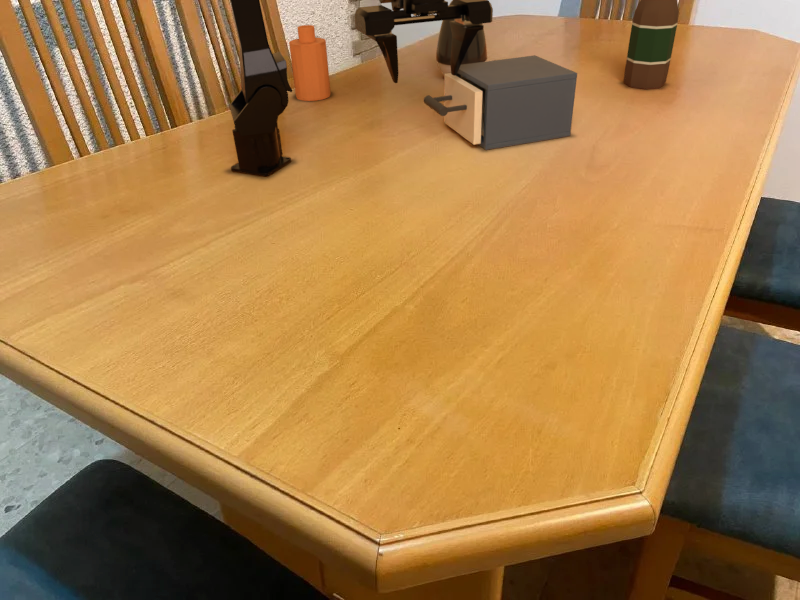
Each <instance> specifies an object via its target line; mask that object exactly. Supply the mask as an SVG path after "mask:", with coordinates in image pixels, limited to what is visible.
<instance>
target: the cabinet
mask: <svg viewBox="0 0 800 600" xmlns="http://www.w3.org/2000/svg"><path fill="white" fill-rule="evenodd" d="M456 76H457V77H459V78H461V76H463V77H465V78H467V79H468V80H470V81H472V82H474V83H475V84H477V85H479V86H481V87H482V88H484V89H486V92H485V118H484V136H482V135H481V144H477V145H478V146H479V147H481V148H482V149H483V150H484V151H488V150H489V151H490V150H494V149H502V148H507V147H513V146H518V145H525V144H530V143H536V142H543V141H549V140H554V139H560V138H561V139H562V138H566V137H571V131H572V123H573V114H574V107H575V98H576V90H577V89H576V88H577V79H578V72H576V71H573V70H571V69H569V68H566V67H564V66H561V65H559V64H557V63H555V62H553V61H550V60H547V59H544V58H542V57H540V56H539V55H538V56H537V55H535V54H534V55H527V56H519V57H511V58H504V59H503V58H502V59H497V60H496V59H495V60H488V61H487V60H486V61H485V62H479V63H471V64H463V65H460V68H459V70H458V72H457V74H456Z"/></svg>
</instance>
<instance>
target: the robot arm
mask: <svg viewBox="0 0 800 600" xmlns="http://www.w3.org/2000/svg"><path fill="white" fill-rule="evenodd" d="M378 1H379V3H380V5H370V6H359V7H358V8H357V9H356V11H355V13H354V26H355V27H354V28H355V30H357V31H359V32H361V33H362V34H363V35H364V36H367V37H368V38H370V39H371V40H373V41H374V42H376V43H377V46H378V47H379V50H380V52H381V53H382V56H383V58H384V61H385V64H386V66H387V69H388V72H389V75H390V78H391V80H392V82H393V83H394V84H398V83H399V56H398V55H399V54H398V36H397V35H396V34H394V33H393V29H394V28H395V26H401V25H411V24H421V23H431V22H440V21H441V22H442V21H443V20H451V19H455V21H450V27H451V31H452V47H451V74H452V75H453V76H455V75H456V74H457V72H458V70H459V68H460V65H461V63H462V61H463V59H464V56H465V54H466V52H467V50H468V48H469V46H470V44H471V43H472V41H473V39H474V37H475V35H476V34H477V32H478V31H479V30H483V28H484V29H485V27H484V25H485V24H490V23H492V22H493V16H494V13H493V12H494V10H493V6H492V5H493V4H492V3H491V2H490V0H453V2H452V4H451V5H449V2H448V1H446V0H378ZM389 3H390V4H391V8H388V7H386V6H384V5H383V4H389ZM229 4H230V8H231V13H232V18H233V21H234V26H235V29H236V35H237V38H238V44H239V73H240V88H241V89H240V91H239V92H238V93H237V94H236V96H235V97H234V99H233V100H232V101H231V102H230V104H229V109H230V114H231V117H232V121H233V125H234V129H232V136H233V141H234V148H235V154H236V158H237V163H235V164H233V165H231V167H230V169H231V170H230V171H232V172H237V173H242V174H249V175H255V176H260V177H269V176H270V175H272V174H274V173H276V172H277V171H278V170H280V169H281V168H283V167H285V166H286V165H287V164H289V163H291V162H292V158H291V157H289V156H283V147H282V140H281V133H280V129H279V125H278V119H279V116H280V115H281V114H283V113H284V111H285V110H286V109H287V107H288V105H289V93H288V92H290V93H293V89H292V87H291V85H290V83H289V80H288V66H287V60H286V58H285V57H284V55H283V54H282V52H281V51H276V52H273V51H272V49H271V46H270V44H269V39H268V35H267V30H266V26H265V20H264V16H263V11H262V7H261V2H260V0H229ZM482 23H483V24H484V25H481V24H482Z"/></svg>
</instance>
